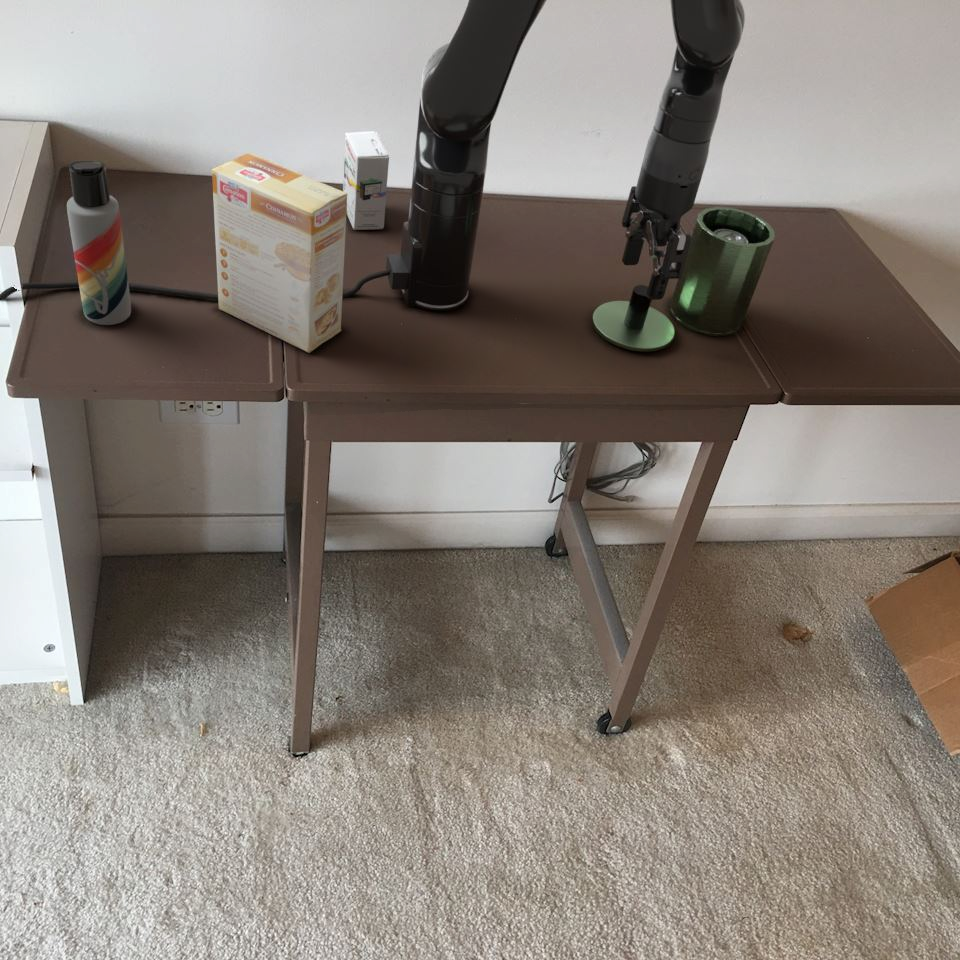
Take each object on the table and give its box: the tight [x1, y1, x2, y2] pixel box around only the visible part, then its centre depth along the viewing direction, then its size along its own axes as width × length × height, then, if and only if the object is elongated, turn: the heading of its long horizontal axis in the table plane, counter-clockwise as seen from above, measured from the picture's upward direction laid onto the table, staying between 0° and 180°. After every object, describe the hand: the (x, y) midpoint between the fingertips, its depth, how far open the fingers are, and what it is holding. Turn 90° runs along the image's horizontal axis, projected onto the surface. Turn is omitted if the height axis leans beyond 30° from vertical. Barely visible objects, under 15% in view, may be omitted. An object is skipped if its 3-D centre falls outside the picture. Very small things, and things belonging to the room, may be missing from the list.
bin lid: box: [591, 284, 675, 353], centre depth 135 cm, size 12×12×7 cm
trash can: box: [669, 206, 776, 337], centre depth 138 cm, size 11×11×14 cm
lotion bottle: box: [66, 160, 132, 326], centre depth 116 cm, size 6×6×20 cm
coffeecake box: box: [211, 152, 347, 354], centre depth 120 cm, size 15×7×20 cm, turn 59°
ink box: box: [342, 130, 390, 231], centre depth 146 cm, size 8×5×12 cm, turn 18°
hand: (641, 280), depth 131 cm, fingers open, 8 cm apart
